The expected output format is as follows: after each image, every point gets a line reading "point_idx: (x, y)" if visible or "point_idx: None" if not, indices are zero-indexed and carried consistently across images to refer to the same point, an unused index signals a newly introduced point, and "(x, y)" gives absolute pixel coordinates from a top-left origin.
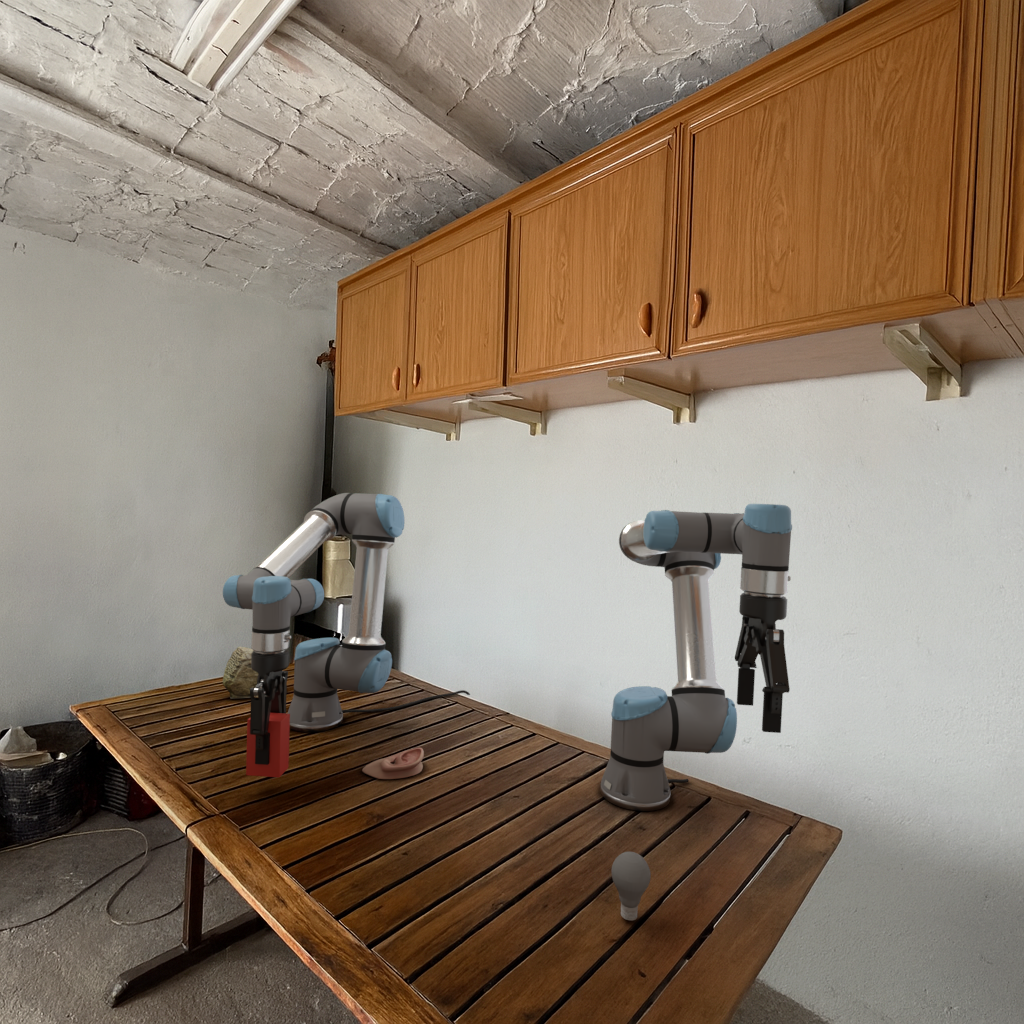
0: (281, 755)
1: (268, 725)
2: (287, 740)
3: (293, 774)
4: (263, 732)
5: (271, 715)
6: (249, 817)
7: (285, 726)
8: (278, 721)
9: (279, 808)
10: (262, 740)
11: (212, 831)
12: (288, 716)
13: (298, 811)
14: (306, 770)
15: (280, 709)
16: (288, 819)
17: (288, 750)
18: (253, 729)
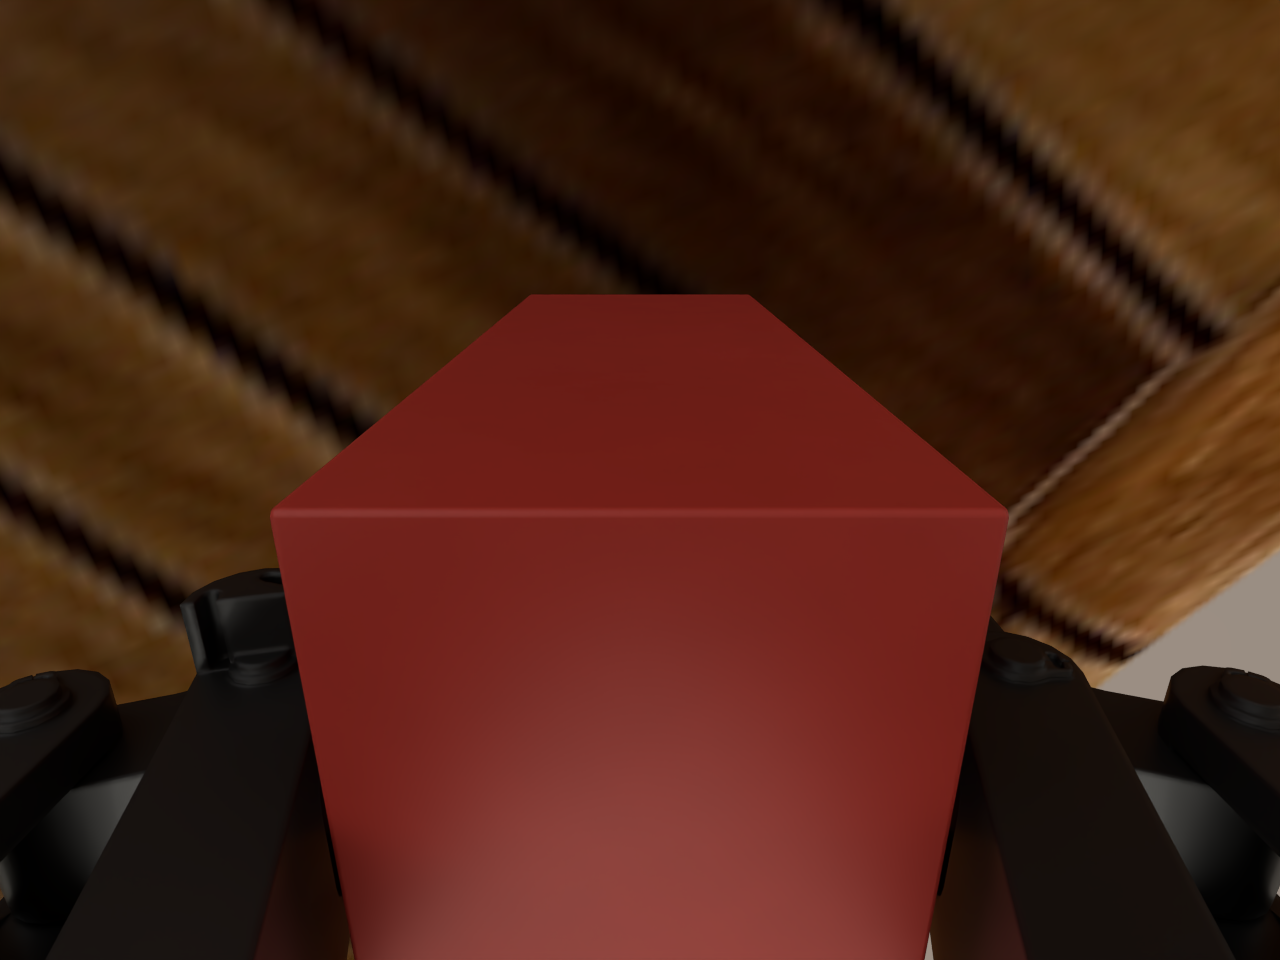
0: (737, 326)
1: (973, 736)
2: (539, 348)
3: (329, 326)
4: (1262, 687)
5: (556, 901)
6: (1043, 356)
7: (631, 421)
8: (986, 582)
9: (906, 193)
10: (992, 626)
11: (1217, 501)
12: (411, 488)
13: (955, 4)
14: (227, 248)
15: (192, 867)
16: (1090, 36)
17: (515, 321)
18: (1266, 911)
